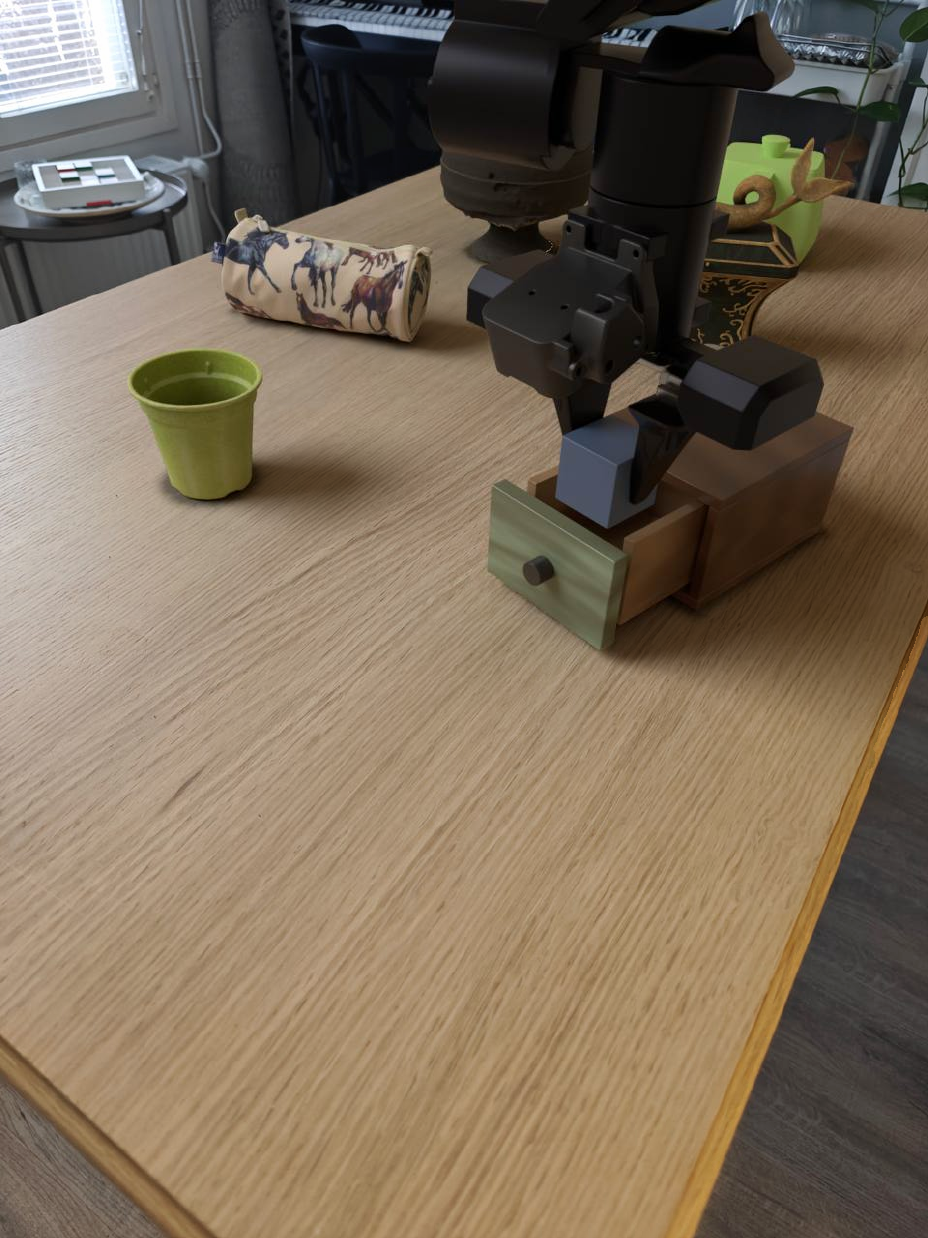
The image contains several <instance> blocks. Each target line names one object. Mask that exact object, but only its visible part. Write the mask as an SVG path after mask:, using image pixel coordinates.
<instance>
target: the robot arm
mask: <svg viewBox="0 0 928 1238" xmlns="http://www.w3.org/2000/svg"><path fill="white" fill-rule="evenodd" d="M718 2H721V0H454V6H453V7H454V9H453V11H454V13H453V20H452V22H451V23H450V25H449V26H448V28H447V29H446V31H445V33H444V34H443V37H442V38H441V42H440V44H439V46H438V50H437V54H436V57H435V61H434V65H433V72H432V73H433V74H432V76H431V77H429V79H428V81H427V95H426V96H427V97H426V99H427V115H428V121H429V124H430V125H429V126H430V129H431V133H432V135H433V138H434V140H435V142H436V143H437V145H438V146H439V148H440V149H442V151H443V150H445V151H446V152H449V153H455V154H460V155H465V156H471V157H476V158H482V159H487V160H493V161H498V162H503V163H509V164H514V165H520V166H525V167H531V168H536V169H542V170H547V171H559V170H561V169H562V168H563V167H564V166H565V165H566V164H567V163H568V161H569V160H570V158H571V156H572V155H573V153H574V151H579V152H580V151H584V150H585V149H586V148H587V147H588V146H589V145H590V143H591V142H592V143H593V140H594V144H593V160H592V169H591V178H590V187H589V196H588V201H587V204H585V205H584V206H581V207H577V208H573V209H570V210H568V215H567V219H566V220H565V221H564V222H563V224H562V229H561V240H560V243H559V246H558V249H557V251H556V253H555V255H552V254H549V253H547V252H544V251H542V250H539V249H538V250H535V251H531V252H528V253H524V254H521V255H518V256H514V257H511V258H507V259H504V260H500V261H497V262H493V263H486V264H483V265H481V266H480V267H479V268H478V270H477V271H476V273H475V275H474V276H473V278H472V279H471V281H470V282H469V284H468V286H467V291H466V292H467V294H466V295H467V296H466V317H465V319H466V321H467V322H469V323H471V324H473V325H475V326H477V327H479V328H481V329H483V330H485V331H486V335H487V338H488V342H489V346H490V351H491V354H492V358H493V362H494V366H495V369H496V371H497V372H498V373H499V374H500V375H501V376H503V377H505V378H510V377H511V378H513V379H516V380H517V381H519V382H521V383H523V384H525V385H527V386H529V387H530V388H533V389H534V390H535V392H537V394H539V395H540V396H542V397H545V398H548V399H552V403H553V405H554V409H555V412H556V416H557V421H558V424H559V428H560V433H561V437H562V436H563V435H565V434H567V433H570V432H572V431H574V430H576V429H579V428H581V427H583V426H585V425H588V424H590V423H592V422H594V421H597V420H599V419H601V418H603V417H605V413H606V409H607V406H608V401H609V397H610V394H611V390H612V385H613V383H614V382H615V381H616V380H618V378H620V377H621V376H622V375H624V374H625V372H627V371H628V370H629V369H631V367H632V366H633V365H634V364H636V363H637V364H639V365H642V366H644V367H645V368H648V369H650V370H652V371H655V372H656V373H659V378H658V379H659V380H658V384H657V387H656V393H653V394H650V395H648V396H646V397H644V398H642V399H639V400H637V401H636V402H633V403H631V404H628V406H627V407H628V410H629V411H630V413H631V414H632V415H633V417H634V418H635V420H636V421H637V422H638V424H639V431H638V437H637V442H636V448H635V454H634V459H633V465H632V470H631V476H630V490H629V502H630V503H631V504H633V505H637V504H639V503H641V502H642V501H644V500H645V499H646V498H647V497H648V496H649V495H650V493H651V492H652V491H653V489H654V488H655V486H656V485H657V484H658V482H659V481H660V480H661V478H662V477H663V476H664V474H665V473H666V472H667V470H668V469H669V468H670V466H671V465H672V463H673V462H674V461H675V459H676V458H677V457H678V455H679V454H680V453H681V451H682V450H683V448H684V447H685V446H686V445H687V443H688V442H689V441H690V439H691V438H692V437H693V436H694V435H695V433H696V432H698V433H700V434H702V435H704V436H706V437H708V438H710V439H712V440H714V441H716V442H718V443H720V444H722V445H724V446H726V447H729V448H731V449H733V450H749V451H751V450H753V449H755V448H757V447H759V446H760V445H762V444H764V443H766V442H768V441H770V440H771V439H773V438H775V437H777V436H779V435H781V434H783V433H784V432H786V431H788V430H790V429H792V428H794V427H795V426H797V425H799V424H801V423H803V422H805V421H807V420H808V419H810V418H812V417H814V416H815V413H816V411H817V410H818V407H819V403H820V400H821V397H822V393H823V390H824V387H825V382H824V378H823V372H822V370H821V367H820V365H819V362H818V360H817V358H815V357H813V356H810V355H807V354H805V353H803V352H800V351H797V350H795V349H793V348H790V347H787V346H785V345H783V344H779V343H777V342H774V341H772V340H769V339H767V338H765V337H762V336H759V335H757V334H755V333H754V335H751V336H749V337H747V338H744V339H742V340H740V341H737V342H735V343H733V344H730V345H728V346H726V347H722V346H719V345H715V344H701V343H699V342H697V341H694V340H692V339H689V336H690V331H691V328H693V327H696V326H698V325H701V324H703V323H706V322H708V318H709V313H710V308H711V303H712V302H711V301H708V300H706V299H703V298H701V297H698V292H699V286H700V281H701V276H702V271H703V266H704V261H705V256H706V251H707V246H708V241H709V242H710V241H713V240H716V239H719V238H722V237H725V236H726V232H727V227H728V222H729V217H730V214H729V213H726V212H722V211H719V210H716V209H715V206H716V201H717V196H718V190H719V185H720V180H721V175H722V170H723V165H724V160H725V155H726V150H727V147H728V146H729V145H728V144H729V140H730V134H731V129H732V124H733V120H734V114H735V109H736V103H737V98H738V94H739V90H745V91H752V92H753V91H754V92H760V93H766V92H769V91H770V90H772V89H773V88H775V87H777V86H778V85H780V84H781V83H783V82H785V81H786V80H788V79H789V78H790V77H791V76H793V74H794V72H795V70H796V62H795V61H794V59H793V57H792V56H790V54H789V53H788V52H787V51H786V49H785V48H784V46H783V45H782V44H781V43H780V41H779V39H778V38H777V36H776V34H775V33H774V31H773V27H772V25H771V22H770V17H769V14H768V13H767V12H766V11H764V10H760V11H757V12H755V13H753V14H750V15H747V16H746V17H744V18H743V19H742V21H740V22H739V24H738V25H737V26H736V27H735V28H734V29H733V30H732V31H727V30H726V31H725V30H717V29H709V28H708V29H707V28H700V27H691V26H683V25H675V24H667V25H664V26H662V27H661V28H660V29H659V30H657V32H656V34H655V35H654V36H653V38H652V39H651V41H650V42H649V44H648V46H637V45H628V44H621V43H620V44H619V43H612V42H611V43H610V42H606V41H605V42H604V41H603V35H605V34H606V33H607V34H608V33H610V32H613V31H615V30H618V29H622V28H625V27H629V26H631V25H634V24H637V23H640V22H643V21H646V20H649V19H652V18H654V17H655V18H657V17H658V18H659V17H670V16H671V17H672V16H679V15H683V14H686V13H689V12H691V11H695V10H697V9H700V8H703V7H705V6H708V5H712V4H714V3H718Z"/></svg>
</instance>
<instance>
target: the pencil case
mask: <svg viewBox="0 0 928 1238" xmlns="http://www.w3.org/2000/svg"><path fill="white" fill-rule="evenodd" d="M234 216H235V217H234V218H235V219H236V221H237V225H236V226H234V227H233V229H232V230H231V231H230V232H229V233H228V235H227V238H226V241H225V243H223V242H222V241H221V242H219V241H214V242H213V248H212V253H211V259H210V261H211V263H216V264H221V273H220V274H221V277H220V279H221V287H222V291H223V294H224V296H225V298H226V299H227V300H226V301H227V302H228V304H229V305H230V306H231V307H232V308H233V309H234V310H235V311H237V312H239V313H242V314H243V313H244V314H248V315H252V316H255V317H261V318H263V319H268V320H269V319H270V320H274V321H275V320H276V321H282V322H292V323H296V324H300V325H305V326H311V327H316V328H322V329H330V330H337V331H340V332H349V333H360V334H361V333H362V334H367V335H377V336H389V337H391V338H393V339H396V340H398V341H400V342H406V343H407V342H408V343H410V342H412V341H413V340H414V338H415V336H416V334H417V333H418V331H419V329H420V327H421V325H422V323H423V321H424V317H425V315H426V311H427V307H428V301H429V295H430V289H431V280H432V266H431V265H432V264H431V259H430V256H431V255H432V254H434V251H433V249H431V248H429V247H427V246H423V247H421V248H420V247H418V246H416V245H414V244H403V245H399V246H388V247H381V246H377V245H369V244H364V243H358V242H353V241H346V240H340V239H333V238H324V237H319V236H314V235H310V234H306V233H301V232H297V231H291V230H286V229H281V228H277V227H273V226H271V225H269V224H268V222H267V220H265V219H263V216H261V215H260V214H255V215H254V216H252V217H248V213H247V208H246V207H242V208H240V209H236V210H235V211H234Z"/></svg>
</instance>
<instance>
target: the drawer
mask: <svg viewBox="0 0 928 1238" xmlns="http://www.w3.org/2000/svg"><path fill="white" fill-rule="evenodd" d="M558 469H559V464H558V465H555V466H554V467H551V468H549V469H547V470H545V471H542V472H540V473H538V474H536V475H534V476H531V477H530V478H529V477H528V479H527V486H526V490H524V489H523V488H521V487H519V486H518V485H516V484H514V483H513V482H511V481H510V480H509V479H506V478H504V479H502V480H499V481H497V482H495V483H493V484H492V485H491V491H490V493H491V494H490V510H489V511H490V512H489V530H488V548H487V567H486V568H487V569H486V570H487V572H488V573H489V574H491V575H492V576H494V577H495V578H496V579H498V580H499V581H500V582H502V583H503V584H505V585H506V586H508V587H509V588H511V589H512V590H514V591H515V592H516V593H518V594H519V595H520V596H522V597H523V598H525V599H526V601H527V600H528V602H530V603H531V604H533V605H535V606H536V607H537V608H539V609H540V610H541V611H542V612H544V613H546V615H548V616H550V617H551V618H553V619H554V620H556V621H557V622H558V623H560V624H561V625H562V626H564V627H565V628H567V629H568V630H570V632H572V633H573V634H574V635H577V636H578V637H579V638H581V639H582V640H584V642H586V643H588V644H589V645H591V646H592V647H594V649H596V650H597V651H599V652H602V651H603V650H605V649H607V648H608V647H609V646H611V645H613V644H614V641H615V635H616V629H617V625H619V626H621V625H624V624H625V623H626V622H628V621H630V620H632V619H633V618H634V617H636V616H638V615H639V614H641V613H643V612H644V611H646V610H647V609H649V608H651V607H653V606H654V605H656V604H657V603H659V602H661V601H663V600H664V599H666V598H667V597H669V596H671V595H670V594H672V593H674V592H675V591H677V590H679V589H680V588H682V587H684V586H685V585H687V584H689V583H690V582H692V579H693V575H694V571H695V566H696V562H697V558H698V554H699V549H700V545H701V541H702V537H703V532H704V528H705V524H706V520H707V515H708V511H709V507H710V506H708V505H706V504H705V503H703V502H701V501H699V500H697V499H695V498H694V497H692V496H690V495H688V494H686V493H684V492H682V491H681V490H679V489H677V488H675V487H673V486H671V485H670V484H668V483H666V482H664V481H662V480H660V481H659V482H658V487H657V492H656V497H655V502H654V504H653V505H651V506H649V507H647V508H645V509H644V510H642V511H640V512H638V513H636V514H634V515H633V516H631V517H629V518H627V519H625V520H623V521H621V522H620V523H618V524H616V525H614V526H612V527H610V528H608V529H607V528H605V527H603V526H601V525H600V524H598V523H596V522H595V521H593V520H591V519H590V518H588V517H586V516H585V515H583V514H581V513H580V512H578V511H576V510H575V509H573V508H571V507H570V506H568V505H566V504H565V503H563V502H561V501H560V500H558V499H556V498H555V495H556V487H557V478H558Z"/></svg>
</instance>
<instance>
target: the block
mask: <svg viewBox="0 0 928 1238" xmlns="http://www.w3.org/2000/svg"><path fill="white" fill-rule="evenodd" d="M638 431H639V428H638V427H636V426H634V425H632V424H630V423H628V422H626V421H624V420H622V419H620V418H618V417H616V416H614V415H612V413H610V414H608V415H606V416H604V417H603V418H601V419H599V420H597V421H594V422H592V423H590V424H588V425H585V426H583V427H581V428H579V429H576V430H574V431H572V432H570V433H567V434H565V435H563V436H562V435H561V442H560V443H561V444H560V452H559V460H558V465H559V469H558V478H557V487H556V495H555V498H556V499H558V500H560V501H561V502H563V503H565V504H566V505H568V506H570V507H571V508H573V509H575V510H576V511H578V512H580V513H581V514H583V515H585V516H586V517H588V518H590V519H591V520H593V521H595V522H596V523H598V524H600V525H601V526H603V527H605V528H607V529H608V528H610V527H612V526H614V525H616V524H618V523H620V522H621V521H623V520H625V519H627V518H629V517H631V516H633V515H634V514H636V513H638V512H640V511H642V510H644V509H645V508H647V507H649V506H651V505H653V504H654V502H655V497H656V492H657V487H658V484H657V485H656V486H655V488H654V489H653V491H652V492H651V493H650V495H649V496H648V497H647V498H646V499H645V500H644V501H642V502H641V503H639V504H637V505H633V504H631V503H630V502H629V490H630V476H631V470H632V465H633V459H634V454H635V448H636V442H637V437H638Z"/></svg>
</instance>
